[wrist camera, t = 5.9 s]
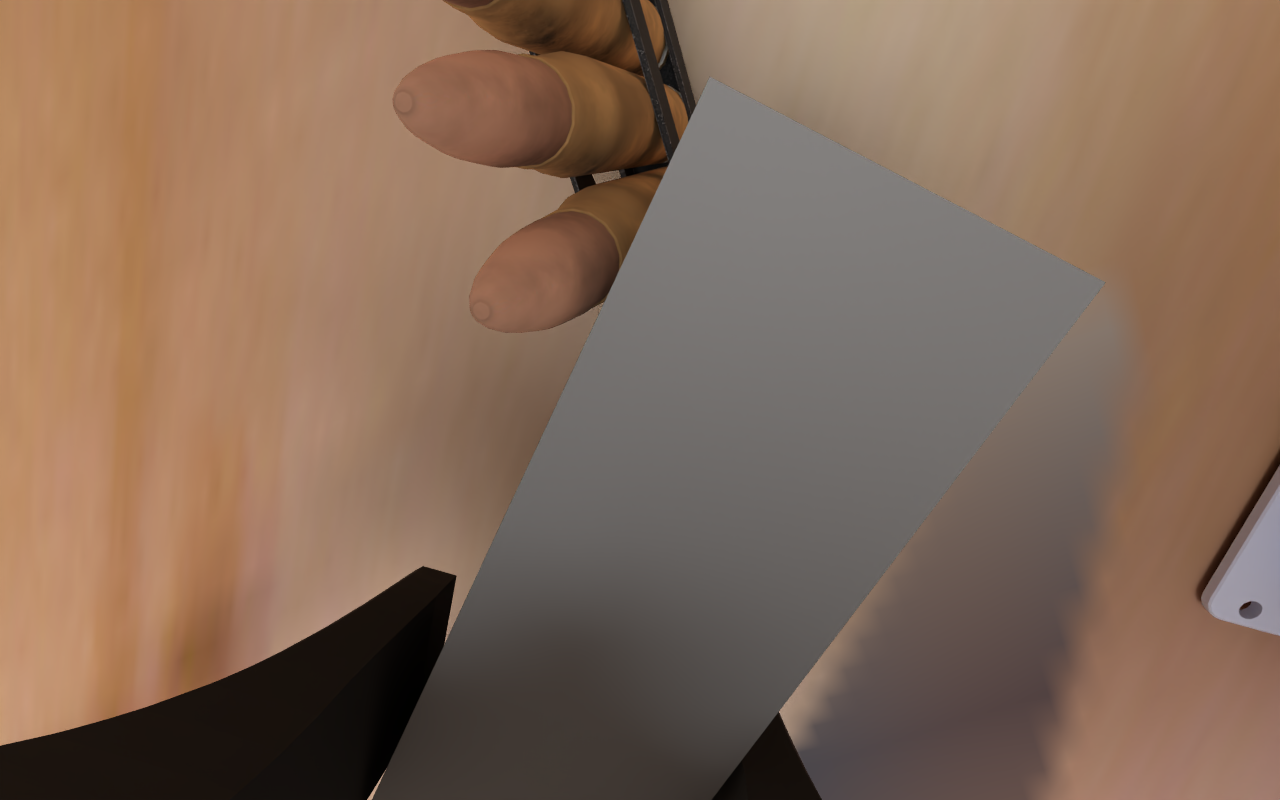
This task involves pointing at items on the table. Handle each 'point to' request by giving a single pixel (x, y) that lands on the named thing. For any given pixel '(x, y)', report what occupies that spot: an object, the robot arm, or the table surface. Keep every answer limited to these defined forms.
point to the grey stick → (729, 466)
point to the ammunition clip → (559, 139)
